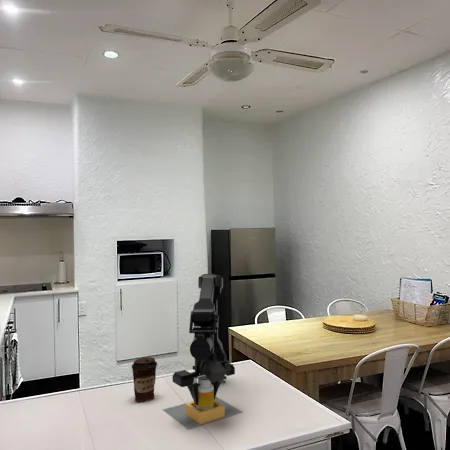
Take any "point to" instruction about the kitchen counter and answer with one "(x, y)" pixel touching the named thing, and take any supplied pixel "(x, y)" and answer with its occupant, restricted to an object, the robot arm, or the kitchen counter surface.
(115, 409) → the kitchen counter surface
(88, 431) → the kitchen counter surface
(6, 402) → the kitchen counter surface
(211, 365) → the robot arm
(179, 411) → the slate board
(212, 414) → the orange collar
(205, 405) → the supplement bottle
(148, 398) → the coffee cup
